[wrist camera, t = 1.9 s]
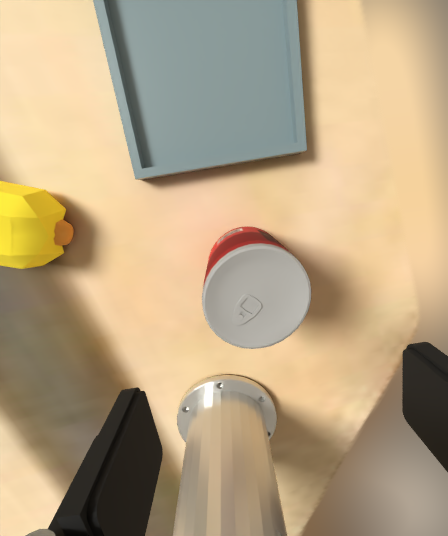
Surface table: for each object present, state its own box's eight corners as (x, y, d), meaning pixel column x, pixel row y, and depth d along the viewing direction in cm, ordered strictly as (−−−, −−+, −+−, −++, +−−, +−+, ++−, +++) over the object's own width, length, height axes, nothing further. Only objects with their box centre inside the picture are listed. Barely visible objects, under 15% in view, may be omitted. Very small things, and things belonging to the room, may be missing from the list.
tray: (300, 153, 26) (306, 150, 24) (141, 180, 27) (135, 179, 25) (285, -55, 22) (291, -78, 20) (96, -18, 22) (84, -37, 21)
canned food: (199, 282, 30) (186, 332, 19) (223, 214, 28) (224, 227, 17) (262, 304, 31) (284, 363, 20) (290, 239, 29) (331, 266, 18)
